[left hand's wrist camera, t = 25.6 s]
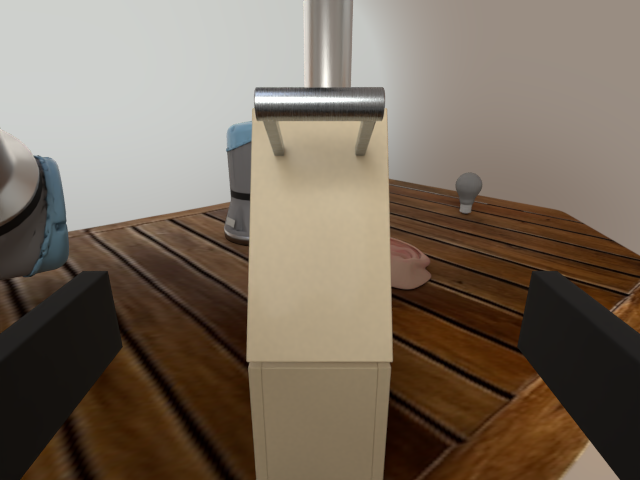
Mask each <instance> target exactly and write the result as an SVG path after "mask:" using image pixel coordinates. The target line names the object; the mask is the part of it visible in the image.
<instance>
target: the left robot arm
mask: <svg viewBox="0 0 640 480" xmlns="http://www.w3.org/2000/svg"><path fill="white" fill-rule="evenodd" d="M68 255H69V241H68V230H67V225H66V210H65V202H64V195H63V189H62V182H61V177H60V172H59V168H58V165H57V163H56V162H55V161H54V160H53V159H52V158H49V157H41V156H33V155H32V153H31V151H30V150H29V149H28V148H27V147H26V145H25V144H23V143H22V142H21V141H20V140H18V139H17V138H15V137H14V136H12V135H11V134H9V133H7V132H5V131H3V130H1V128H0V280H3V279H9V278H15V277H20V276H23V277H31V276H33V275H35V274H36V273H41V272H45V271H50V270H54V269H57V268H59V267H61V266H62V265H64V264H65V262H66V261H67V259H68ZM122 347H123V346H122V341H121V336H120V331H119V326H118V321H117V316H116V311H115V306H114V301H113V296H112V291H111V285H110V280H109V275H108V271H82V272H81V273H80V274H79V275H77V276H76V277H75V278H73V279H72V280H71V281H69V282H68V283H67V284H65V285H64V286H63V287H61V288H60V289H59V290H57V291H56V292H55V293H53V294H52V295H51V296H50V297H48V298H47V299H46V300H44V301H43V302H42V303H40V304H39V305H38V306H36V307H35V308H34V309H32V310H31V311H30V312H28V313H27V314H26V315H24V316H23V317H22V318H20V319H19V320H18V321H17V322H15V323H14V324H13V325H11V326H10V327H9V328H7V329H6V330H5V331H3V332H2V333H1V334H0V480H20V479H21V478H22V476H23V475H24V474H25V473H26V471H27V470H28V469H29V467H30V466H31V465H32V463H33V462H34V461H35V460H36V458H37V457H38V456H39V454H40V453H41V452H42V451H43V449H44V448H45V447H46V445H47V444H48V443H49V441H50V440H51V439H52V438H53V436H54V435H55V434H56V432H57V431H58V430H59V429H60V427H61V426H62V425H63V423H64V422H65V421H66V419H67V418H68V417H69V416H70V414H71V413H72V412H73V410H74V409H75V408H76V407H77V405H78V404H79V403H80V401H81V400H82V399H83V397H84V396H85V395H86V394H87V392H88V391H89V390H90V388H91V387H92V386H93V385H94V383H95V382H96V381H97V379H98V378H99V377H100V375H101V374H102V373H103V372H104V370H105V369H106V368H107V366H108V365H109V364H110V363H111V361H112V360H113V359H114V357H115V356H116V355H117V353H118V352H119V351H120V350H121V348H122ZM517 347H518V348H519V350H520V351H521V352H522V353H523V355H524V356H525V357H526V359H527V360H528V361H529V363H530V364H531V365H532V366H533V368H534V369H535V370H536V372H537V373H538V374H539V375H540V377H541V378H542V379H543V381H544V382H545V383H546V385H547V386H548V387H549V388H550V390H551V391H552V392H553V394H554V395H555V396H556V397H557V399H558V400H559V401H560V403H561V404H562V405H563V407H564V408H565V409H566V410H567V412H568V413H569V414H570V416H571V417H572V418H573V419H574V421H575V422H576V423H577V425H578V426H579V427H580V429H581V430H582V431H583V432H584V434H585V435H586V436H587V438H588V439H589V440H590V441H591V443H592V444H593V445H594V447H595V448H596V449H597V451H598V452H599V453H600V454H601V456H602V457H603V458H604V460H605V461H606V462H607V463H608V465H609V466H610V467H611V469H612V470H613V471H614V473H615V474H616V475H617V476H618V478H619V479H620V480H640V334H639V333H638V332H637V331H635V330H634V329H633V328H631V327H630V326H629V325H627V324H626V323H625V322H623V321H622V320H621V319H620V318H618V317H617V316H616V315H614V314H613V313H612V312H610V311H609V310H608V309H606V308H605V307H604V306H602V305H601V304H600V303H598V302H597V301H596V300H594V299H593V298H592V297H590V296H589V295H588V294H587V293H585V292H584V291H583V290H581V289H580V288H579V287H577V286H576V285H575V284H573V283H572V282H571V281H569V280H568V279H567V278H565V277H564V276H563V275H561V274H560V273H559V272H558V271H532V275H531V280H530V285H529V291H528V296H527V301H526V306H525V311H524V316H523V321H522V326H521V331H520V336H519V341H518V346H517Z"/></svg>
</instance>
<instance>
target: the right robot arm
mask: <svg viewBox="0 0 640 480" xmlns="http://www.w3.org/2000/svg"><path fill="white" fill-rule="evenodd" d="M352 16H353V0H304V73H305V87H351V56H352ZM251 146H252V121H250V122H244V123H238V124H235V125H232V126H231V127H230V128H229V129H228V131H227V149H226V151H227V155H228V167H229V178H230V190H231V202H230V206H229V210H228V214H227V218H226V222H225V227H224V230H225V237H226V238H227V239H228V240H229V241H231V242H234V243H237V244H242V245H249V232H250V189H251Z"/></svg>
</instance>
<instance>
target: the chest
mask: <svg viewBox="0 0 640 480" xmlns="http://www.w3.org/2000/svg"><path fill="white" fill-rule="evenodd" d="M248 371H249V385H250V399H251V413H252V426H253V440H254V454H255V467H256V480H383V472H384V459H385V445H386V431H387V417H388V403H389V390H390V376H391V366H390V362H250V363H249V367H248Z"/></svg>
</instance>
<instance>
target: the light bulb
mask: <svg viewBox="0 0 640 480" xmlns="http://www.w3.org/2000/svg"><path fill="white" fill-rule="evenodd" d="M481 189H482V181H481V179H480V177H479V176H478V175H476V174H474V173H465V174H463V175H461V176H460V177H459V178H458V179H457V181H456V190H457V193H458V195H459V197H460V203H461V205H460V207H461V208H460V212H462V213H464V214H468V213H470V212H471V209H472V208H471V207H472V204H473V203H474V199H475V198H476V196H477V195H478V194H479V192H480V191H481Z"/></svg>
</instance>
